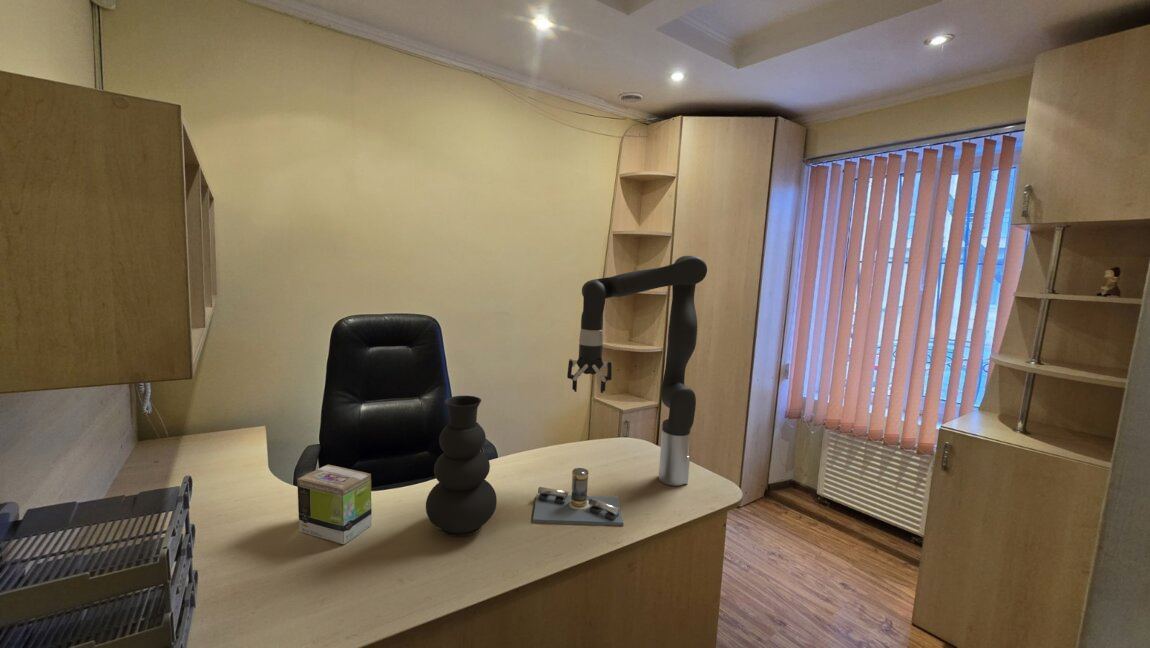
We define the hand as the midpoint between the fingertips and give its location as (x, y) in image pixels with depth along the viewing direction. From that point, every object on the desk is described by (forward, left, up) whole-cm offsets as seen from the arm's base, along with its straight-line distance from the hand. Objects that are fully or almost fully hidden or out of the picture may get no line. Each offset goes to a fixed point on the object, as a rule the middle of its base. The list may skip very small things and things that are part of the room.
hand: (588, 391), depth 152 cm
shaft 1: (+10, +16, -30) cm, 35 cm away
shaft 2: (-5, +23, -30) cm, 38 cm away
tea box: (+66, +33, -30) cm, 80 cm away
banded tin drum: (+2, +18, -29) cm, 34 cm away
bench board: (+3, +20, -30) cm, 36 cm away
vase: (+34, +30, -30) cm, 54 cm away
